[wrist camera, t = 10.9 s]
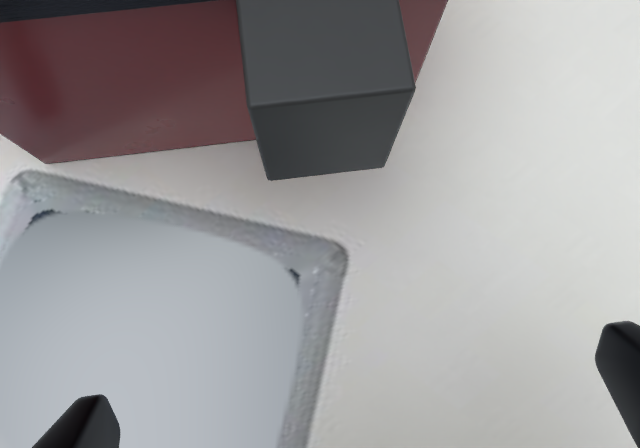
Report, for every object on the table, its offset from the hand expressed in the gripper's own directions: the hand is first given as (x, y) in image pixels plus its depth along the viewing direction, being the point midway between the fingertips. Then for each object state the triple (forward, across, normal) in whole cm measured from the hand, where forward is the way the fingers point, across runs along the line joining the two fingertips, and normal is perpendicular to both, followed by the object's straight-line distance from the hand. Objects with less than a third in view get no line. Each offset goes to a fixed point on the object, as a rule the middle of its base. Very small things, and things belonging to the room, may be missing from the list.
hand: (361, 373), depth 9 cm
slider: (+7, 0, -3) cm, 7 cm away
